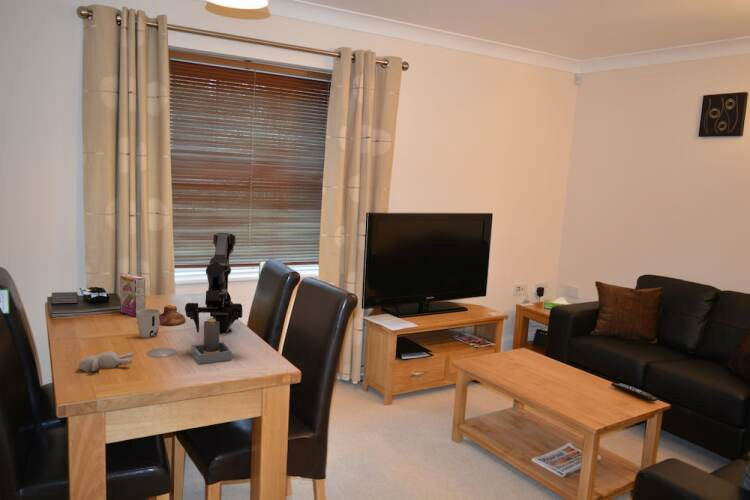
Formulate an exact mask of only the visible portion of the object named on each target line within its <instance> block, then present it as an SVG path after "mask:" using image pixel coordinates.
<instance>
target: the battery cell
mask: <svg viewBox="0 0 750 500" xmlns="http://www.w3.org/2000/svg"><path fill="white" fill-rule="evenodd" d="M219 330H220V322H219V321H216V319H213V317H210V318H208V320H205V321H203V344H204V354H207V353H216V352H219V343H220V333H219Z"/></svg>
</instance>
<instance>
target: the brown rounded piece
mask: <svg viewBox="0 0 750 500" xmlns="http://www.w3.org/2000/svg"><path fill="white" fill-rule="evenodd" d="M185 323H186V317H185V316H184V314H181V313H180V312H178V308H177V306H176V305H171V304H165V305H164V306H163V312H162V313H160V323H159V326H160V327H161V326H162V327H176V326H181V325H183V324H185Z"/></svg>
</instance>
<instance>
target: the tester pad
mask: <svg viewBox="0 0 750 500" xmlns="http://www.w3.org/2000/svg"><path fill="white" fill-rule="evenodd" d="M178 353H179V352H178V350H177V349H175V348H169V347H163V348H161V347H159V348H155V349H151V350H148V351H147V352H146V353H145V355H146V356H148V357H149V358H155V359H163V358H164V359H165V358H170V357H174V356H177V354H178Z"/></svg>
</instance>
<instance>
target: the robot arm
mask: <svg viewBox="0 0 750 500" xmlns="http://www.w3.org/2000/svg"><path fill="white" fill-rule="evenodd" d="M236 243H237V236H236V235H234V234H233V233H229V232H218V233H215V234H213V238H212V244H213V245H214V248H215V249H214V250H215V251H214V256H213V257H211V258H210V259H209V264H207V266H206V267H205V268H206V269H205V274H206V276H207V277H206V278H207V282H208V289H207V290H206V291H205V301H204V302H205V303H204V305H205V306H199V303H198V302H187V303H186V304H185V305H184V312H185V316H186V317H187V318H189V319H190V320H192V321H193V322H194V325H195V328H196V333H197V334H199V332H200V314H201V313H203V314H205V313H206V314H207V313H208V314H209V317H210V318H213V319H216V321H219V322H220V330H219V334H223V333H225V334H227V333H231V332H232V329H231V326H232V325H233V323H234V322H235V321H239V319H242V318H243V313H244V311H243V304H242V303H233V302H234V301H232V297H231V295H230V293H229V292H228V290H229V289H228V288H229V276H230V274H231V272H232V267H231V266H230V256H231V255H232V253H233V252H234V250H235V249H234V248H235V246H236V245H237V244H236Z"/></svg>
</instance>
